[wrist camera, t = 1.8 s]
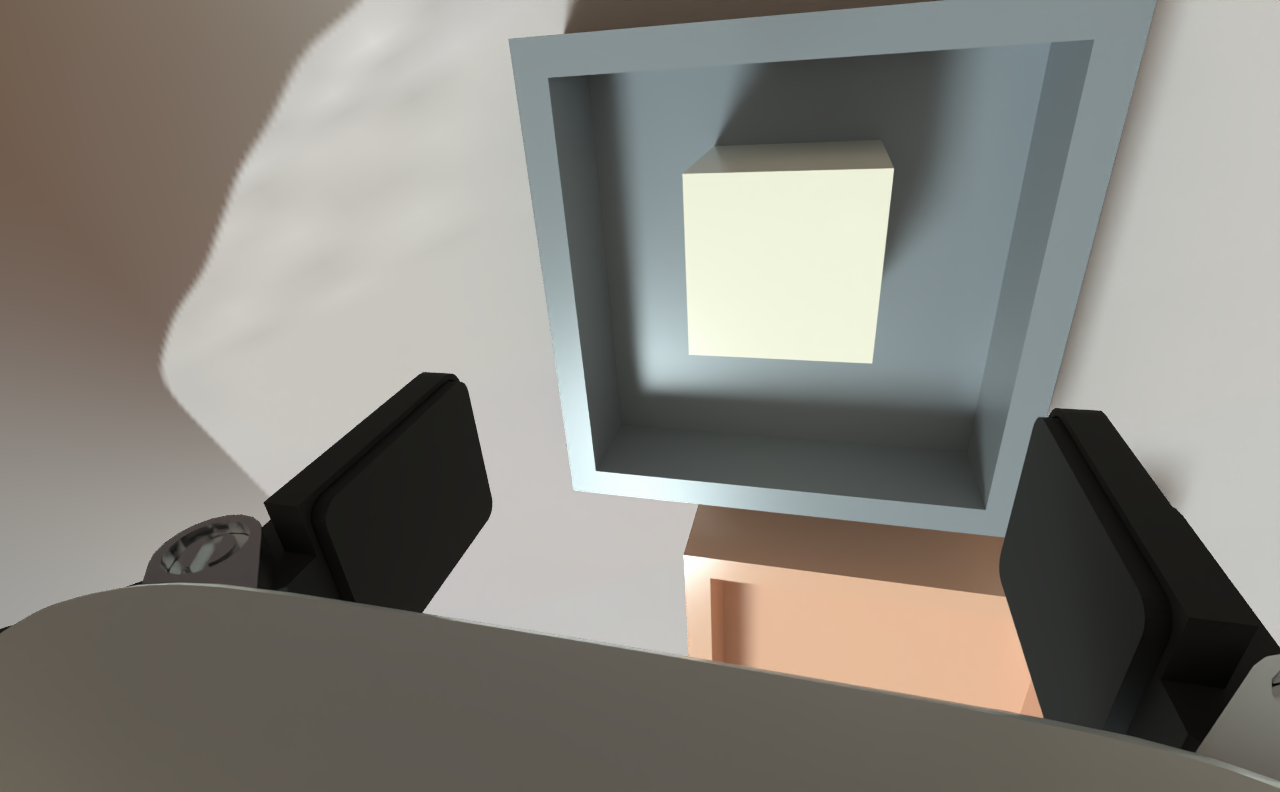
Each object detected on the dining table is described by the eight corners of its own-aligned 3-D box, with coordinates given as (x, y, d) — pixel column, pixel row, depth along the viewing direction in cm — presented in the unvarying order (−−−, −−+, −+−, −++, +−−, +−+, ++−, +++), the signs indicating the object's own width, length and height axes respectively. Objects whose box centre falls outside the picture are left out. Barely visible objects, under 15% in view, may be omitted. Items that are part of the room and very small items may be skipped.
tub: (1100, 533, 29) (1143, 615, 25) (1017, 776, 37) (1039, 866, 33) (702, 492, 33) (683, 554, 29) (708, 716, 42) (694, 789, 38)
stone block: (881, 139, 23) (893, 168, 18) (865, 299, 26) (872, 363, 21) (714, 145, 24) (682, 173, 19) (716, 296, 27) (689, 354, 22)
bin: (1096, -8, 20) (1162, -19, 16) (989, 467, 29) (1014, 538, 25) (562, 38, 25) (508, 38, 21) (605, 435, 33) (573, 490, 29)
